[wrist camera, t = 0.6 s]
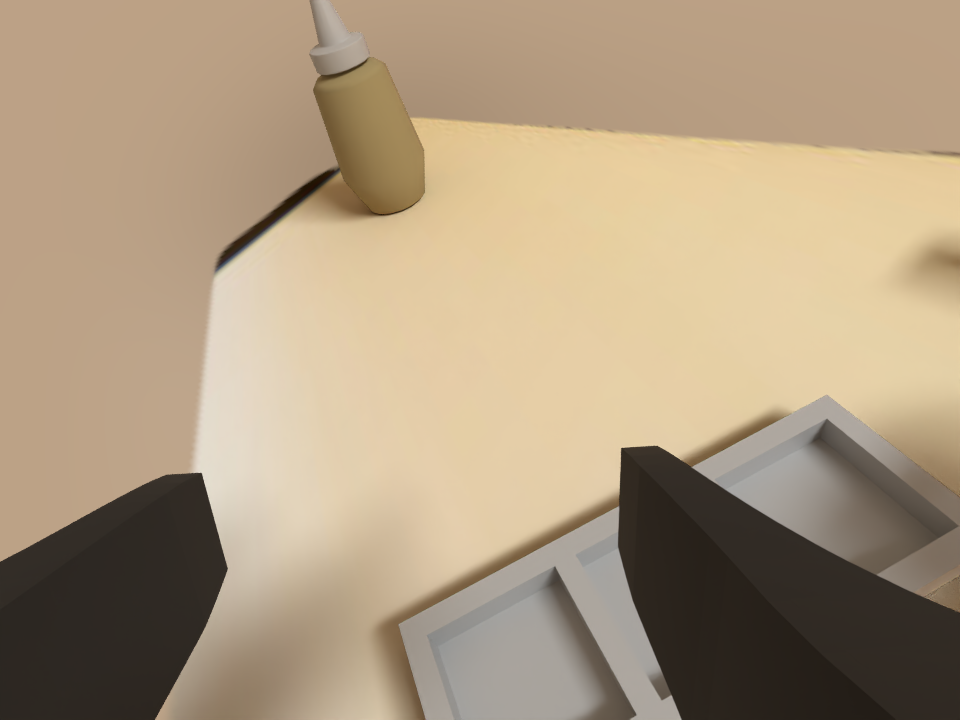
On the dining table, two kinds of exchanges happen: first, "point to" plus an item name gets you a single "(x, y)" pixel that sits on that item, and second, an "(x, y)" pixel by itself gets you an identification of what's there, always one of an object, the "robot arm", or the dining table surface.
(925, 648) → the robot arm
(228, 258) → the dining table surface
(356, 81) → the squeeze bottle
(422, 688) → the grey compartment tray
